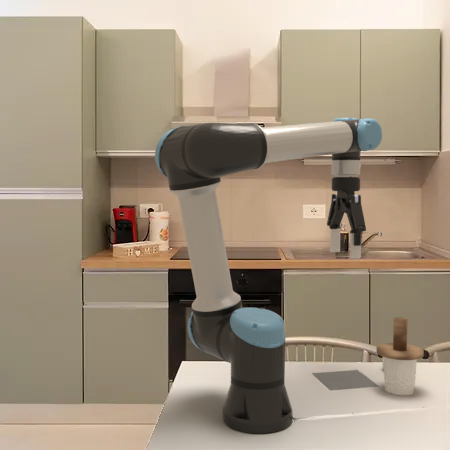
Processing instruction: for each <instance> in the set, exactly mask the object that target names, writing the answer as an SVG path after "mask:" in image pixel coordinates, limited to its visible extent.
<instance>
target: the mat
mask: <svg viewBox="0 0 450 450" xmlns="http://www.w3.org/2000/svg"><path fill="white" fill-rule="evenodd" d="M311 374H312V375H313V376H314V377H315V378H316V379H317V380H318V381H319V382H320V383H322V384H323V385H324V386H325V387H326V388H327V389H328V390H329V391H340V390H351V389H362V388H364V389H365V388H376V387H377V388H378V387H379V388H380V385H379V384H377V383H376V382H374V381H373V380H372V379H371V378H369V377H368V376H366V374H363V373H362V372H361V371H359V370H358V369H353V370H352V369H351V370H349V369H348V370H337V371H324V372H321V371H320V372H312V373H311Z"/></svg>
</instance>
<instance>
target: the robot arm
mask: <svg viewBox="0 0 450 450" xmlns="http://www.w3.org/2000/svg"><path fill="white" fill-rule="evenodd" d="M382 140H383V128H382V126H381V124H380V123H379V121H378V120H377V119H375V118H365V117H364V118H360V119H359V118H356V117H337V118H334V119H333V120H332V121H325V122H311V123H310V122H309V123H300V124H287V125H286V124H285V125H275V126H265V127H262V126H260V125H258V124H257V123H254V122H253V123H227V122H226V123H225V122H203V123H199V124H192V125H191V124H190V125H181V126H177V127H175V128H172V129H170V130H167V131H166V132H165V133H164V134H163V135H162V136H161V137H160V139H159V141H158V142H157V144H156V147H155V151H154V161H155V165H156V166H157V169H158V171H159V172H160V173H161V174H162V175H163V176H164V177H165V178H167V183H168V187H169V192H170V193H172V194H173V195H174V196H176V197H177V198H178V204H179V210H180V215H181V219H182V224H183V225H182V227H183V231H184V237H185V243H186V247H187V251H188V252H187V253H188V258H189V263H190V268H191V274H192V279H193V283H194V284H193V285H194V290H195V295H196V298H195V299H194V301H193V302H192V304H191V310H192V311H191V313H190V317H189V318H188V320H187V321H188V322H187V332H188V333H187V334H188V337H189V339H190V341H191V342H192V344H193V345H194V347H196V348H197V349H199V350H200V351H201V352H202V353H204V354H207V355H209V356H212V357H215V358H217V359H220V360H222V361H224V362H226V363H228V364H230V386H229V389H228V391H227V394H226V398H225V401H224V404H223V407H222V420H223V421H222V422H223V423H224V424H225V425H226V426H227V427H229V428H230V429H234V430H236V431H239V432H242V433H243V432H244V433H249V434H268V433H269V434H271V433H274V432H279V431H282V430H284V429H287V428H288V427H290V426H291V425H292V423H293V407H292V404H291V402H290V398H289V395H288V392H287V389H286V385H285V375H286V374H285V373H286V372H285V371H286V370H285V368H286V367H285V366H286V337H287V336H286V330H285V329H286V327H285V321H284V319H283V318H282V317H281V315H279V314H278V313H276V312H274V311H272V310H270V309H265V308H258V307H243V303H242V299H241V295H240V294H239V293H237V292H235V291H234V289H233V283H232V278H231V274H230V273H231V271H230V267H229V260H228V255H227V254H228V253H227V250H226V249H227V248H226V242H225V238H224V232H223V231H224V230H223V226H222V220H221V214H220V209H219V204H218V202H219V201H218V197H217V189H218V187H219V186H220V185H221V184H222V183H221V182H222V180H221V177H226V176H231V175H234V174H238V173H241V172H247V171H252V170H258V169H261V168H262V167H263V166H264V165H265V164H267V163H274V162H276V163H277V162H283V161H291V160H297V159H307V158H313V157H321V156H327V155H331V175H332V176H333V177H332V178H331V190H332V192H337V193H332V194H331V202H330V203H331V204H330V205H329V206H330V208H329V212H328V216H327V221H326V222H327V223H326V226H328V227H329V229H330V231H329V232H330V234H329V235H330V237H329V238H330V239H329V240H330V241H329V242H330V245H329V253H341V228H342V226H341V222H342V220H343V218H344V215H345V214H346V217H347V220H348V222H349V223H348V224H349V225H350V226H349V227H350V231H349V234H350V237H349V238H350V240H349V242H350V245H349V250H350V251H349V258H350V259H361V258H362V234H363V232H366V230H367V228H366V222H365V218H364V217H365V216H364V211H363V206H362V196H361V194H355V192H359V191H360V190H361V178H360V177H359V176H360V175H361V168H362V164H361V152H367V151H372V150H375V149H377V148H378V147H379V146H380V145H381V142H382Z"/></svg>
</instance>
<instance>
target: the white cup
mask: <svg viewBox="0 0 450 450" xmlns="http://www.w3.org/2000/svg"><path fill="white" fill-rule="evenodd" d="M383 358H384V371H383V377H384V378H383V380H384V390H385V391H386V392H387V393H389V394H392V395H397V396H410V395H413V394H414V391H415V384H416V378H417V377H416V375H417V364H418V363H417V362H418V361H417V360H418V359H416V360H396V359H390V358H386V357H383V356H382V359H383Z"/></svg>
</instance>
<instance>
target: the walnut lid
mask: <svg viewBox="0 0 450 450" xmlns="http://www.w3.org/2000/svg"><path fill="white" fill-rule="evenodd" d="M392 329H393V331H392V333H393V335H392V342H388V343H381V344H379V345H377V346H376V352H375V353H377V355H379V356H380V357H382V358H383V357H386V358H390V359H396V360H416V359H417V360H420V359H422V358H423V357H424V356H425V354H424V351H425V350H424V349H423V348H421V347H419V346H416V345H413V344H408V318H407V317H399V316H398V317H394V318H393V328H392Z"/></svg>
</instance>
